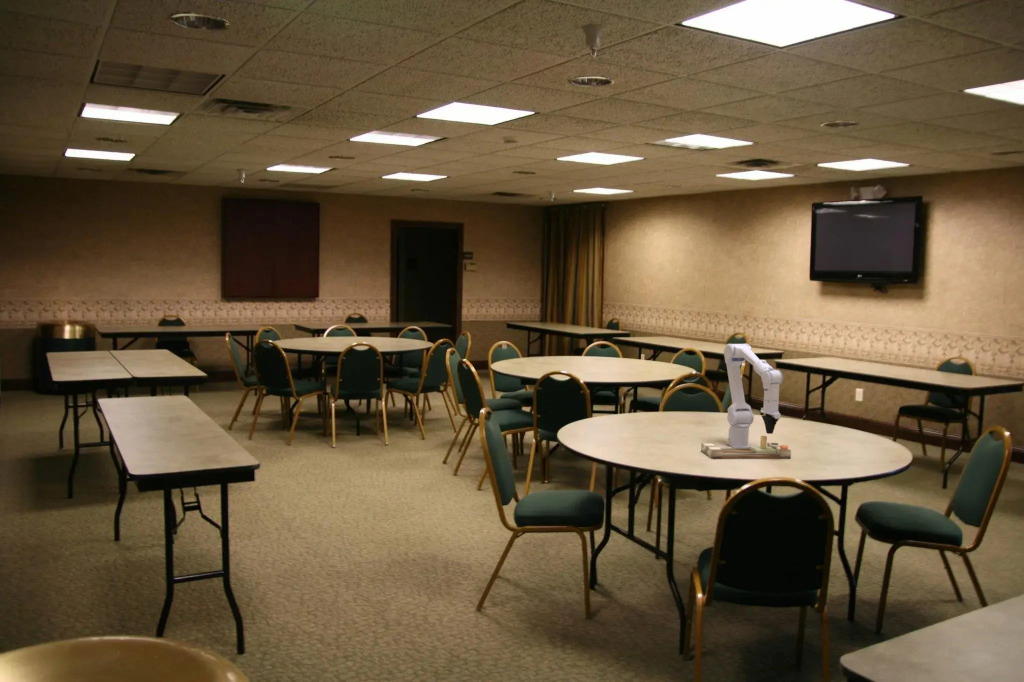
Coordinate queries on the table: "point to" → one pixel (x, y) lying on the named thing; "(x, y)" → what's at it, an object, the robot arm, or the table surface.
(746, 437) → the robot arm
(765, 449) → the carriage
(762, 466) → the table surface
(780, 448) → the button
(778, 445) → the rail
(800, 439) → the table surface
